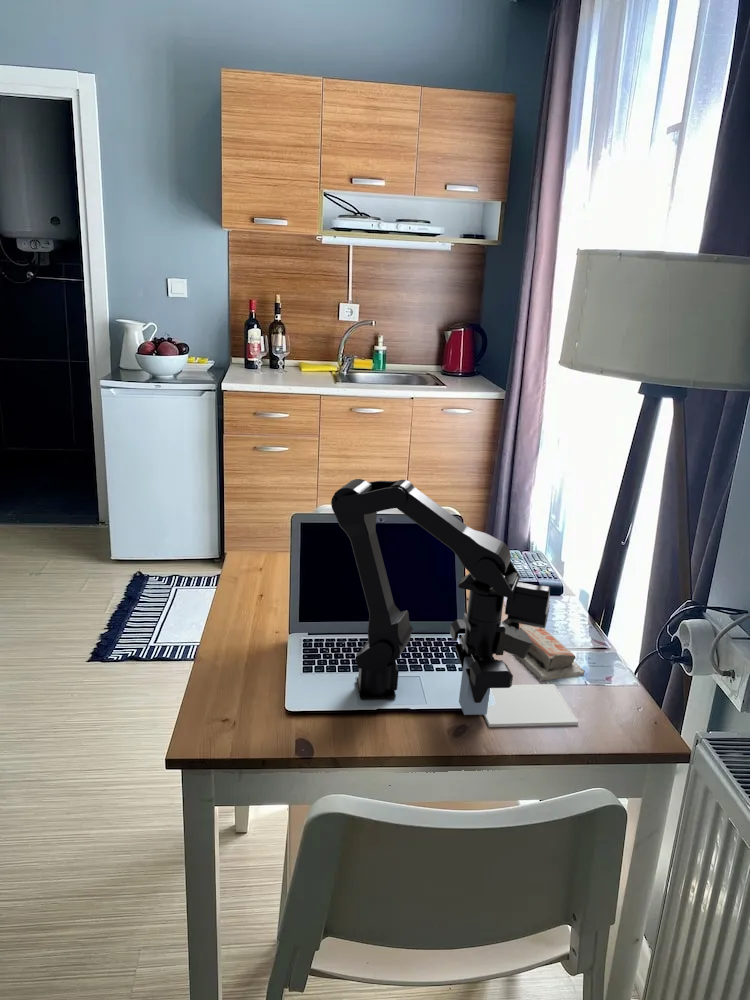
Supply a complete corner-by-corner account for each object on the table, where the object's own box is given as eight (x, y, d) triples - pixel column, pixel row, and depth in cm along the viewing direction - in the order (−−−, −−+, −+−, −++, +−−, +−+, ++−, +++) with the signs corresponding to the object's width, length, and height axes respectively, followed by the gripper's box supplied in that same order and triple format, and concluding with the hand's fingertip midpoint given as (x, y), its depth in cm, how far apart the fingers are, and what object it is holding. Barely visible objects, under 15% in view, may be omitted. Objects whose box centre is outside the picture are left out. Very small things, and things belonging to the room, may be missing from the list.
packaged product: (498, 618, 160) (539, 613, 164) (495, 638, 162) (536, 633, 165) (544, 661, 144) (588, 655, 148) (540, 683, 146) (584, 676, 149)
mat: (488, 727, 130) (489, 724, 130) (471, 688, 142) (471, 685, 142) (577, 724, 133) (578, 721, 133) (553, 687, 144) (554, 684, 144)
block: (464, 714, 131) (470, 668, 129) (458, 701, 135) (464, 656, 132) (486, 714, 132) (493, 668, 129) (480, 701, 136) (486, 656, 133)
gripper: (549, 641, 120) (536, 726, 125) (513, 590, 138) (503, 666, 143) (481, 642, 119) (470, 727, 124) (453, 590, 136) (445, 667, 141)
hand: (474, 695), depth 133 cm, fingers closed on block, 4 cm apart
